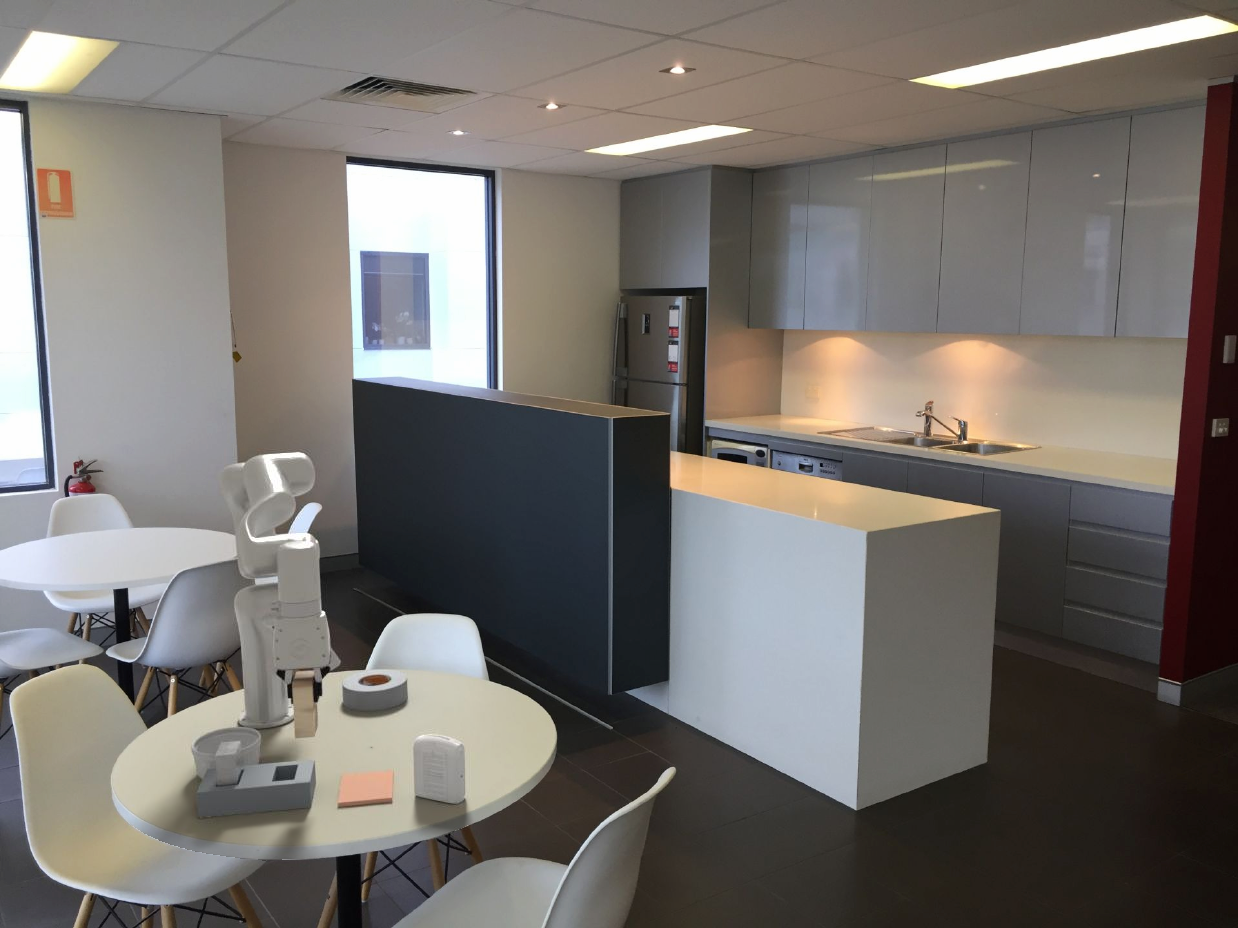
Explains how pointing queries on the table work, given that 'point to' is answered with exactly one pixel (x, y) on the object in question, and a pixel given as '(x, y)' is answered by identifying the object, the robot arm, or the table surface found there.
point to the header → (259, 789)
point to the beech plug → (304, 705)
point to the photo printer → (439, 768)
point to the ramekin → (210, 742)
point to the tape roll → (374, 690)
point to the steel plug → (229, 763)
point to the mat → (366, 788)
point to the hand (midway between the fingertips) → (305, 699)
